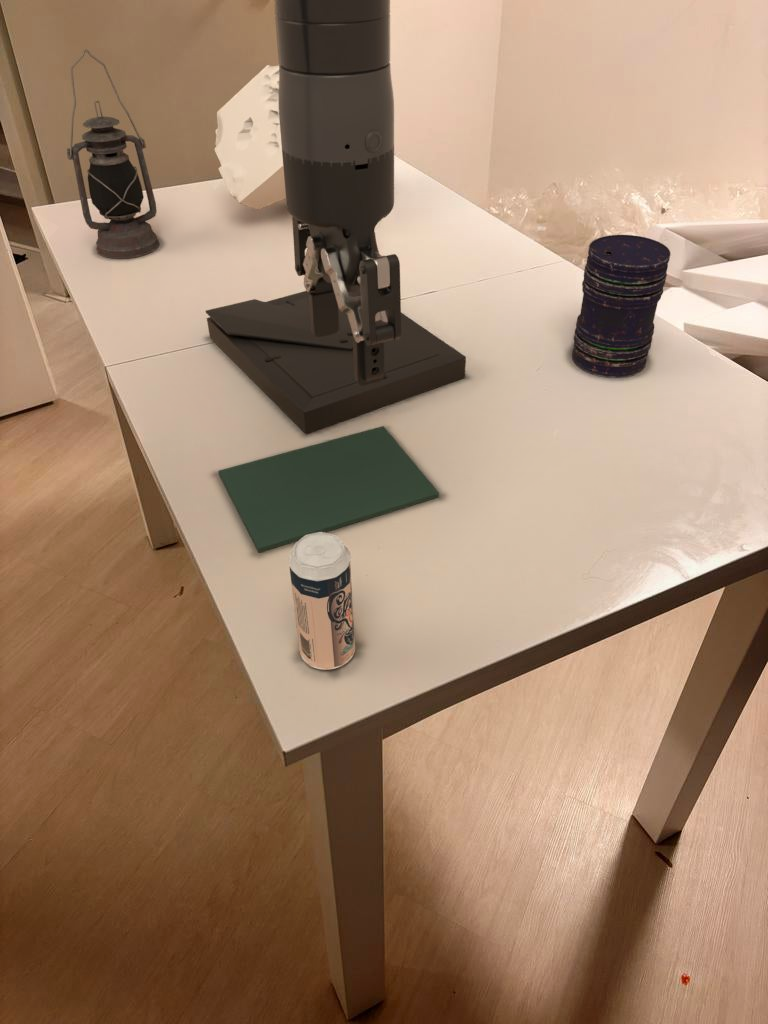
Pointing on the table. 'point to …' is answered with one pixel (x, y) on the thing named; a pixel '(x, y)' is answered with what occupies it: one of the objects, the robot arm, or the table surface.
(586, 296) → the dark blue cylinder
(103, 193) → the lantern
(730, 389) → the table surface
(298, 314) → the black flat block
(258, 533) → the mat
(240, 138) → the white angular faceted block
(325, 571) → the beer can
